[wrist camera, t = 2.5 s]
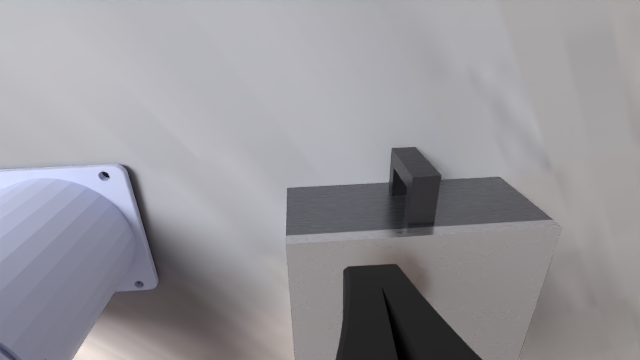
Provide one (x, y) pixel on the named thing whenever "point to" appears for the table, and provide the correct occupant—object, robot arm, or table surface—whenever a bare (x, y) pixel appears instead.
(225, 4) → the table surface
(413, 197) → the press
